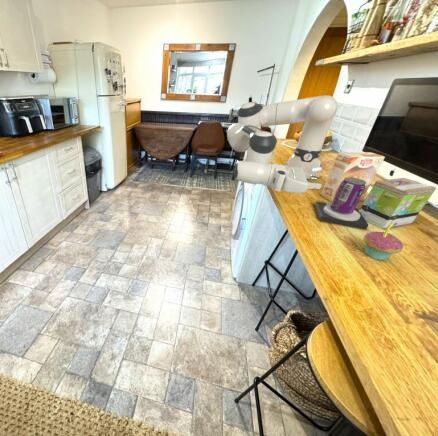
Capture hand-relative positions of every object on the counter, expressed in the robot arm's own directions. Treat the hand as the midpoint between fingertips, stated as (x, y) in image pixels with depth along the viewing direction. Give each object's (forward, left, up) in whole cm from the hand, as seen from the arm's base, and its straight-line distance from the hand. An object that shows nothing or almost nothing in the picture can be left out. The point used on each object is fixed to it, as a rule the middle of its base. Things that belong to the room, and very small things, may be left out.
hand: (318, 181), depth 88 cm
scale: (-1, +10, -13) cm, 16 cm away
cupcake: (+22, +15, -13) cm, 30 cm away
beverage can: (0, +10, -10) cm, 14 cm away
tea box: (-6, +26, -13) cm, 30 cm away
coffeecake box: (-22, +15, -13) cm, 30 cm away
